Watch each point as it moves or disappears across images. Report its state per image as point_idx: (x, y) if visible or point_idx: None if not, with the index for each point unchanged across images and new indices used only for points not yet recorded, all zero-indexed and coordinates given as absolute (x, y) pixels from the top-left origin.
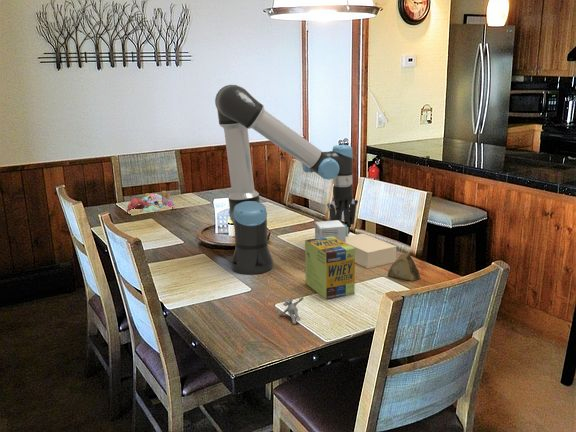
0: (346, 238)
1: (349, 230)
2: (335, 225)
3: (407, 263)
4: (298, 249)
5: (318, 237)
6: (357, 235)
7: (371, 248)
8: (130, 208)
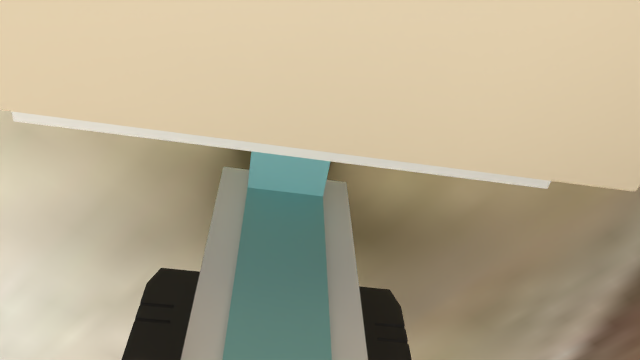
0: (499, 73)
1: (139, 319)
2: None
3: None
4: (609, 353)
5: None
6: (133, 69)
7: None
8: None
